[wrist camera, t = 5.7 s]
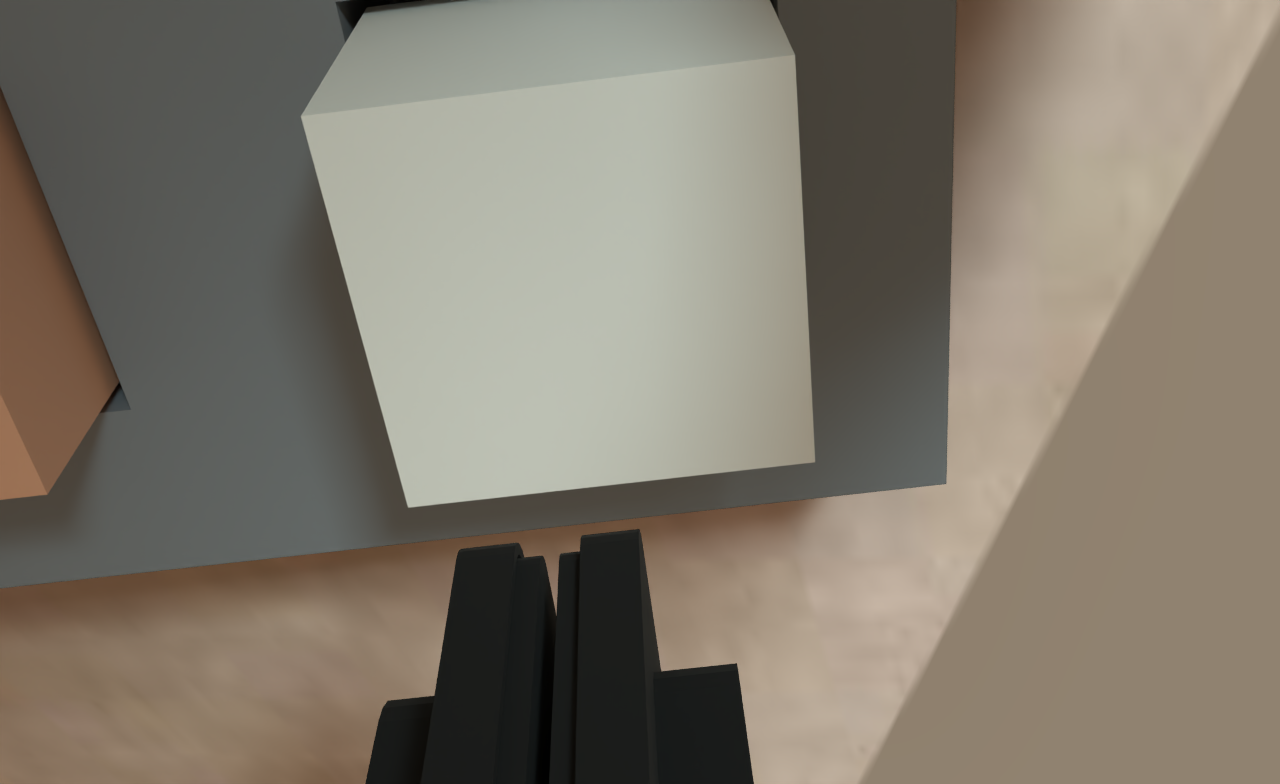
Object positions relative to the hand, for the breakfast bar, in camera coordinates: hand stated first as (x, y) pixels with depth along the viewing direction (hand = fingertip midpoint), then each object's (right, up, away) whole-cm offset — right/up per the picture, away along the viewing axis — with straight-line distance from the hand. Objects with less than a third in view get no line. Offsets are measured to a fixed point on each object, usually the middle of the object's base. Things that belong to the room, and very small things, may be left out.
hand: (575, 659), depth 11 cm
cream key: (0, +6, +9) cm, 11 cm away
